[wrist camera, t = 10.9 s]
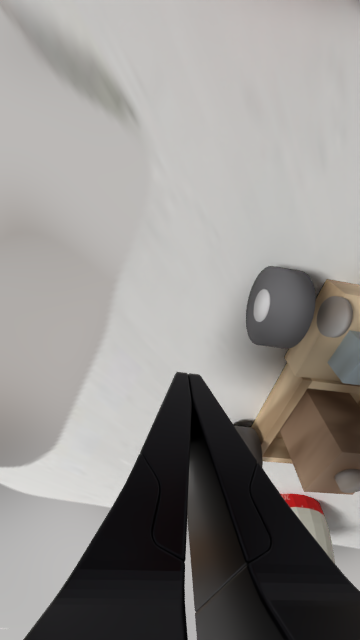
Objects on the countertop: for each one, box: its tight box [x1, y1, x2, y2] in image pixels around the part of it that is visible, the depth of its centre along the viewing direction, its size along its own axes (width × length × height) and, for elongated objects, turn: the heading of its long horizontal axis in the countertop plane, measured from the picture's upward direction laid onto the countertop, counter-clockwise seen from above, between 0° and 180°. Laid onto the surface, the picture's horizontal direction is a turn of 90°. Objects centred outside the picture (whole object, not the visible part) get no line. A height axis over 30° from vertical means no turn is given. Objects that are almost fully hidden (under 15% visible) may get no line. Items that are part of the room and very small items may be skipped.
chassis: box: [234, 279, 360, 467], centre depth 21 cm, size 14×21×5 cm
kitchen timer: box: [280, 494, 335, 564], centre depth 33 cm, size 14×14×15 cm
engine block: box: [280, 388, 360, 494], centre depth 22 cm, size 4×6×7 cm
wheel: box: [246, 266, 316, 349], centre depth 15 cm, size 2×5×5 cm, turn 169°
